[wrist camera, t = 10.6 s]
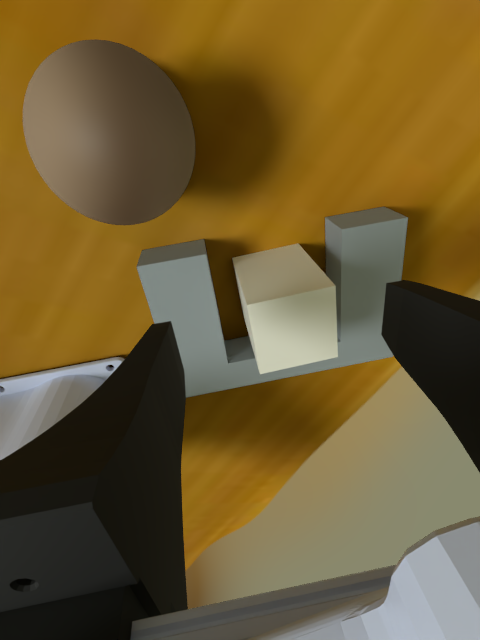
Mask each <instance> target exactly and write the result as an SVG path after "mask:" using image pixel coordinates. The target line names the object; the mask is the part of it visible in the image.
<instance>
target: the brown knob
mask: <svg viewBox="0 0 480 640" xmlns="http://www.w3.org/2000/svg"><path fill="white" fill-rule="evenodd" d="M23 127H24V135H25V139H26V144H27V147H28V150H29V153H30V156H31V158H32V160H33V162H34V164H35V167H36V169H37V170H38V172H39V173H40V175H41V177H42V178H43V180H44V181H45V182H46V184H47V185H48V186H49V187H50V189H51V190H52V191H53V192H54V193H55V194H56V195H57V196H58V197H59V198H60V199H61V200H62V201H64V202H65V203H66V204H67V205H68V206H70V207H71V208H73V209H74V210H76V211H77V212H79V213H81V214H83V215H85V216H87V217H89V218H92V219H94V220H97V221H100V222H104V223H108V224H115V225H133V224H139V223H143V222H147V221H149V220H152V219H154V218H156V217H158V216H160V215H162V214H163V213H165V212H166V211H167V210H169V209H170V208H171V207H172V206H173V205H174V204H175V203H176V202H177V201H178V199H179V198H180V197H181V195H182V194H183V192H184V191H185V189H186V187H187V185H188V183H189V180H190V178H191V175H192V171H193V167H194V161H195V136H194V129H193V125H192V121H191V117H190V114H189V112H188V109H187V106H186V104H185V102H184V100H183V98H182V96H181V94H180V93H179V91H178V90H177V88H176V86H175V85H174V83H173V82H172V81H171V80H170V78H169V77H168V76H167V75H166V74H165V73H164V72H163V71H162V70H161V69H160V68H159V67H158V66H157V65H156V64H155V63H154V62H152V61H151V60H150V59H148V58H147V57H146V56H144V55H143V54H141V53H139V52H137V51H136V50H134V49H132V48H129V47H127V46H124V45H122V44H119V43H115V42H111V41H105V40H83V41H79V42H75V43H71V44H68V45H66V46H64V47H62V48H60V49H58V50H57V51H55V52H54V53H52V54H51V55H49V56H48V57H47V58H46V59H45V60H44V61H43V62H42V63H41V64H40V66H39V67H38V69H37V70H36V71H35V73H34V75H33V77H32V79H31V80H30V82H29V85H28V88H27V91H26V94H25V99H24V105H23Z"/></svg>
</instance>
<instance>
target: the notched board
mask: <svg viewBox="0 0 480 640" xmlns="http://www.w3.org/2000/svg"><path fill="white" fill-rule="evenodd" d="M407 222H408V217H406V216H404V215H402V214H399V213H397V212H395V211H393V210H391V209H388V208H386V207H380V208H374V209H369V210H363V211H357V212H352V213H346V214H341V215H335V216H330V217H325V243H326V276H327V277H328V278H329V279H330V280H331V281H332V282H333V283H334V285H335V286H336V314H337V344H338V357H336V358H331V359H327V360H322V361H318V362H313V363H309V364H304V365H300V366H295V367H291V368H286V369H282V370H277V371H273V372H268V373H264V374H260V373H259V369H258V366H257V362H256V359H255V355H254V352H253V348H252V345H251V341H250V337H249V336H246V337H241V338H236V339H231V340H226V341H224V336H223V331H222V326H221V321H220V316H219V311H218V306H217V301H216V296H215V291H214V286H213V281H212V276H211V271H210V266H209V261H208V256H207V251H206V246H205V241H204V239H202V240H196V241H191V242H185V243H180V244H174V245H169V246H163V247H157V248H152V249H146V250H142V252H141V255H140V258H139V261H138V264H137V269H138V273H139V276H140V279H141V282H142V285H143V288H144V292H145V295H146V298H147V301H148V304H149V307H150V311H151V314H152V317H153V320H154V323H155V324H156V323H162V322H168V321H171V323H172V327H173V330H174V334H175V338H176V341H177V345H178V349H179V353H180V356H181V360H182V364H183V368H184V374H185V391H186V397H191V396H196V395H201V394H207V393H212V392H217V391H222V390H227V389H232V388H237V387H242V386H247V385H252V384H257V383H262V382H267V381H272V380H277V379H282V378H287V377H292V376H297V375H302V374H307V373H313V372H318V371H323V370H328V369H333V368H338V367H343V366H348V365H353V364H358V363H363V362H368V361H373V360H378V359H383V358H388V357H393V354H392V352H391V350H390V349H389V347H388V345H387V344H386V342H385V340H384V338H383V337H382V335H381V332H382V322H383V312H384V302H385V292H386V283H390V282H396V281H401V278H402V269H403V259H404V250H405V241H406V232H407Z"/></svg>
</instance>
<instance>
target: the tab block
mask: <svg viewBox="0 0 480 640" xmlns="http://www.w3.org/2000/svg"><path fill="white" fill-rule="evenodd" d="M232 260H233V265H234V271H235V276H236V281H237V286H238V291H239V296H240V301H241V306H242V311H243V316H244V320H245V323H246V327H247V330H248V334H249V337H250V341H251V345H252V348H253V352H254V355H255V359H256V362H257V366H258V369H259V373H260V374H264V373H268V372H273V371H277V370H282V369H286V368H291V367H295V366H300V365H304V364H309V363H313V362H318V361H322V360H327V359H331V358H336V357H338V344H337V314H336V286H335V285H334V283H333V282H332V281H331V280H330V279H329V278H328V277H327V276H326V274H325V273H324V272H323V271H322V270H321V269H320V268H319V266H318V265H317V264H316V263H315V262H314V261H313V260H312V258H311V257H310V256H309V255H308V254H307V253H306V252H305V250H304V249H303V248H302V247H301V246H300V245H299V244H294V245H289V246H285V247H280V248H275V249H271V250H266V251H261V252H257V253H252V254H247V255H243V256H238V257H233V258H232Z"/></svg>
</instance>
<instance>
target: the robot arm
mask: <svg viewBox="0 0 480 640" xmlns="http://www.w3.org/2000/svg"><path fill="white" fill-rule="evenodd" d="M381 335H382V337H383V338H384V340H385V342H386V344H387V345H388V347H389V349H390V350H391V352H392V354H393V355H394V357H395V358H396V359H397V361H398V362H399V363H400V364H401V366H402V367H403V368H404V369H405V370H406V372H407V373H408V374H409V375H410V377H411V378H413V380H414V381H415V382H416V383H417V385H418V386H419V387H420V388H421V390H422V391H423V392H424V393H425V394H426V396H427V397H428V398H429V399H430V400H431V401H432V403H433V404H434V405H435V406H436V407H437V409H438V410H439V411H440V413H441V414H442V415H443V417H444V418H445V419H446V421H447V422H448V424H449V425H450V427H451V428H452V430H453V431H454V433H455V434H456V436H457V437H458V439H459V440H460V442H461V443H462V445H463V446H464V448H465V450H466V451H467V453H468V454H469V456H470V458H471V459H472V461H473V462H474V464H475V466H476V467H477V469H478V470H479V472H480V301H478V300H475V299H471V298H468V297H464V296H461V295H458V294H454V293H451V292H448V291H444V290H441V289H438V288H434V287H431V286H428V285H424V284H420V283H416V282H412V281H407V280H402V281H396V282H390V283H386V292H385V302H384V312H383V322H382V332H381ZM108 365H113V366H114V367H109V366H108ZM0 386H2V387H3V388H1V387H0V640H480V517H475V518H470V519H467V520H464V521H461V522H459V523H455V524H453V525H450V526H447V527H444V528H441V529H438V530H435V531H433V532H432V533H430V534H429V535H427V536H426V537H424V538H423V539H421V540H420V541H418V542H417V543H415V544H414V545H412V546H411V547H409V548H408V549H407V550H406V551H405V553H404V554H403V556H402V557H401V559H400V560H399V562H398V563H397V565H393V566H388V567H383V568H378V569H374V570H369V571H364V572H360V573H355V574H350V575H346V576H341V577H336V578H332V579H327V580H322V581H318V582H313V583H309V584H304V585H299V586H294V587H290V588H286V589H281V590H276V591H271V592H266V593H262V594H257V595H253V596H248V597H243V598H238V599H234V600H229V601H224V602H220V603H215V604H211V605H206V606H202V607H197V608H192V609H188V607H187V593H186V578H185V560H184V541H183V519H182V492H181V454H182V441H183V428H184V415H185V400H186V391H185V374H184V368H183V364H182V360H181V356H180V353H179V349H178V345H177V341H176V338H175V334H174V330H173V327H172V323H171V321H168V322H162V323H156V324H152V325H151V326H150V328H149V329H148V330H147V332H146V333H145V334H144V335H143V337H142V338H141V339H140V341H139V342H138V343H137V345H136V346H135V347H134V348H133V350H132V351H131V352H130V354H129V355H128V356H127V357H126V358H125V359H124V358H121V357H114V358H109V359H104V360H99V361H94V362H88V363H83V364H78V365H73V366H68V367H62V368H57V369H52V370H47V371H41V372H36V373H31V374H26V375H21V376H15V377H10V378H5V379H0Z"/></svg>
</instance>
